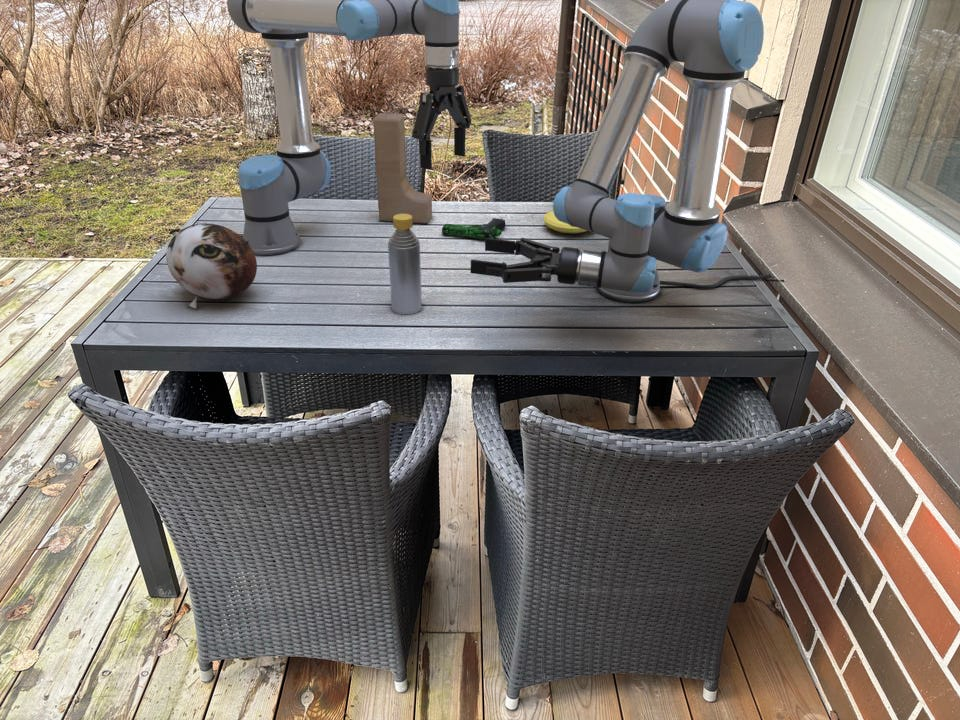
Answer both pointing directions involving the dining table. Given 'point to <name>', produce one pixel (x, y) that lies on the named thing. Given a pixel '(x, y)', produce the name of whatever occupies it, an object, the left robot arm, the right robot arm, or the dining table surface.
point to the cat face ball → (211, 261)
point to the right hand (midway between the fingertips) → (478, 254)
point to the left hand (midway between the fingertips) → (443, 161)
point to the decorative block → (396, 172)
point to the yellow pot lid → (560, 224)
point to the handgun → (476, 230)
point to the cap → (402, 221)
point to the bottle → (405, 272)
